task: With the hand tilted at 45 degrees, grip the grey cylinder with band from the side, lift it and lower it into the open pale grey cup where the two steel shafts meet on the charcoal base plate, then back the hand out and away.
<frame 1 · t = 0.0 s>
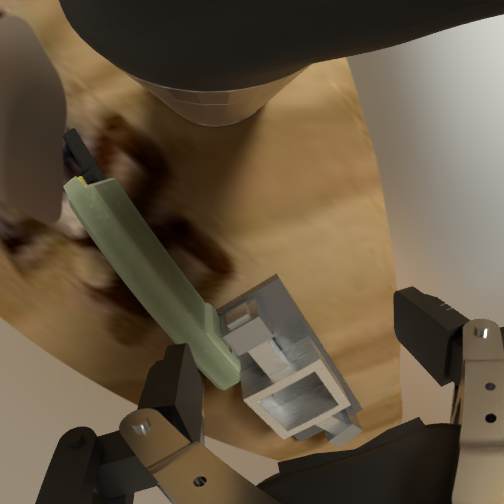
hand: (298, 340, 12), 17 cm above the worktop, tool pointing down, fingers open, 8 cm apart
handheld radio: (150, 244, 28), on the worktop, touching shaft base
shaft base: (290, 372, 33), on the worktop
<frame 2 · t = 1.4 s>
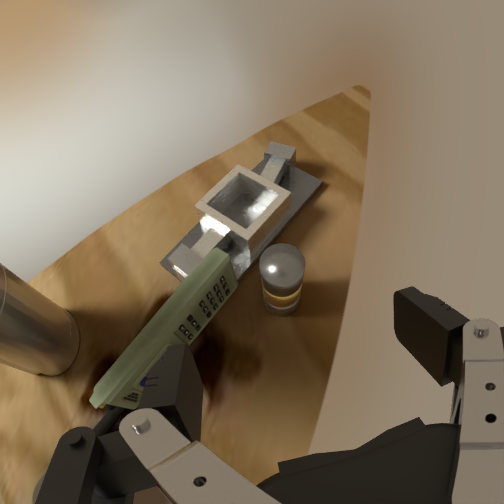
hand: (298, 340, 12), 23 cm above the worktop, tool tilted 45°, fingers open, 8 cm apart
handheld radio: (164, 360, 34), on the worktop
grey cylinder with band: (281, 299, 36), on the worktop
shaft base: (246, 223, 42), on the worktop
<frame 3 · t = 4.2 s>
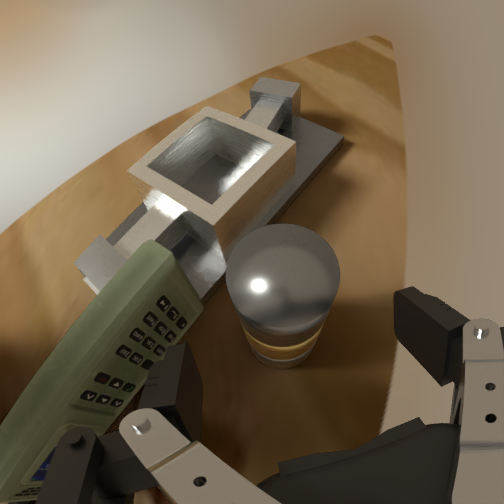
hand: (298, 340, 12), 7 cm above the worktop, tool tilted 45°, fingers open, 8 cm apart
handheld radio: (85, 432, 17), on the worktop, touching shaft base
grey cylinder with band: (282, 336, 19), on the worktop
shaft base: (220, 201, 24), on the worktop
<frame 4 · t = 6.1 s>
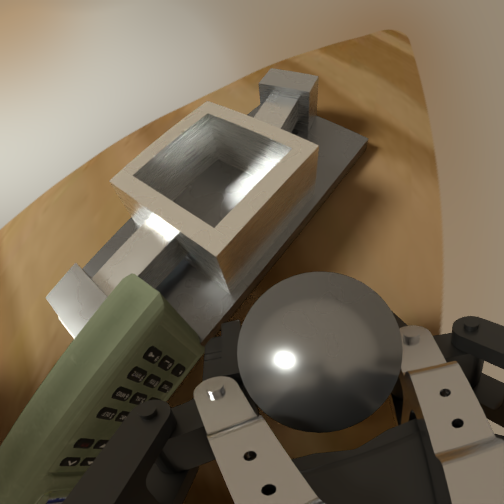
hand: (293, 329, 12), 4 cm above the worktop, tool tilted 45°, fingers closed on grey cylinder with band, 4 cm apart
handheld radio: (75, 484, 13), on the worktop
grey cylinder with band: (300, 386, 15), on the worktop, touching gripper
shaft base: (224, 216, 20), on the worktop
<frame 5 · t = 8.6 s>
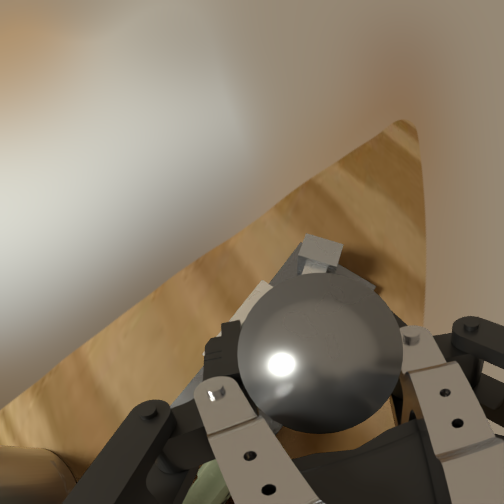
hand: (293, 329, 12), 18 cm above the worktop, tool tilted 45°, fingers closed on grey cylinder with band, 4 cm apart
grey cylinder with band: (300, 387, 15), point 14 cm above the worktop, touching gripper
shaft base: (274, 356, 29), on the worktop
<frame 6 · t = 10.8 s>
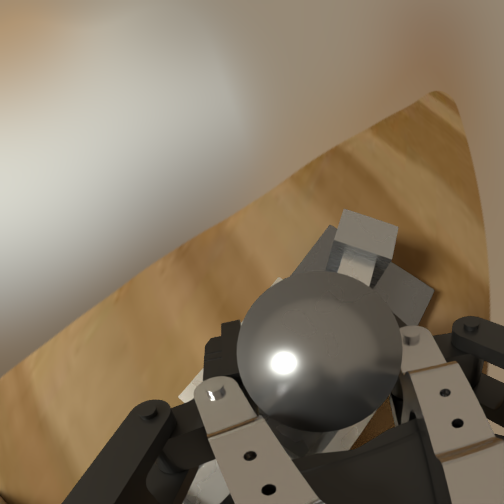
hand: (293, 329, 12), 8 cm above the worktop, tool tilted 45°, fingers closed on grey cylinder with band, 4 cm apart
grey cylinder with band: (300, 386, 15), point 4 cm above the worktop, touching gripper
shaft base: (291, 392, 19), on the worktop
when the fingers open (6 cm above the worktop, at t = 11.5 s): grey cylinder with band drops 1 cm, resting on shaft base.
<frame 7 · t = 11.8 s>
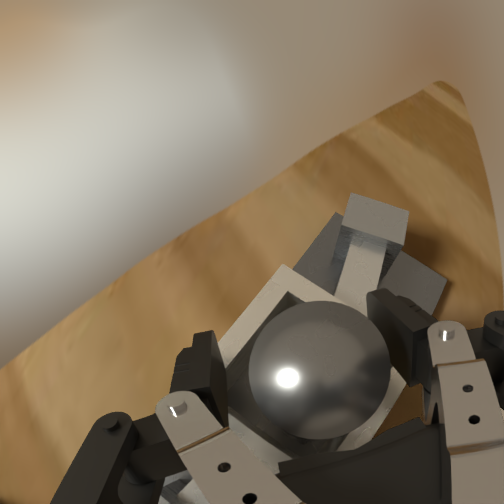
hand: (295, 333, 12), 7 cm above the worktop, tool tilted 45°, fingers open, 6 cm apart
grey cylinder with band: (299, 390, 16), point 1 cm above the worktop, touching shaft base
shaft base: (297, 390, 17), on the worktop
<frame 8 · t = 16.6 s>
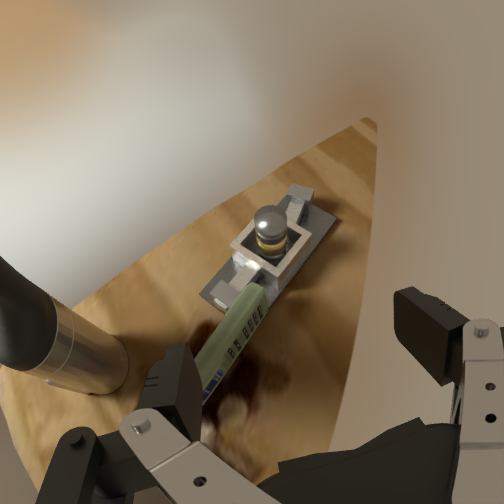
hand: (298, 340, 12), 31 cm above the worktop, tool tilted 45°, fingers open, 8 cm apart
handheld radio: (211, 377, 41), on the worktop, touching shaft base
grey cylinder with band: (272, 254, 47), point 1 cm above the worktop, touching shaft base
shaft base: (272, 257, 48), on the worktop
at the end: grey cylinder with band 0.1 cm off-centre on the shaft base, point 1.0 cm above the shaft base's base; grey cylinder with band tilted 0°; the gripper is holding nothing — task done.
